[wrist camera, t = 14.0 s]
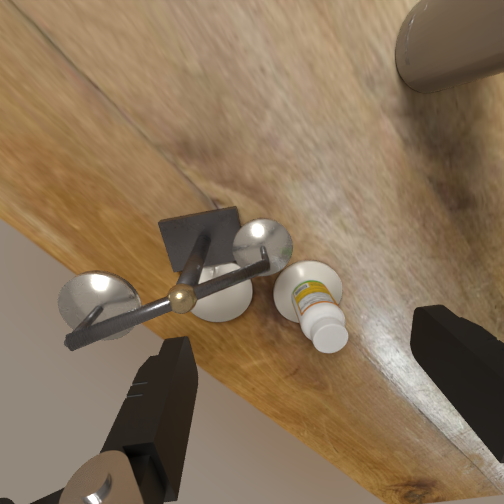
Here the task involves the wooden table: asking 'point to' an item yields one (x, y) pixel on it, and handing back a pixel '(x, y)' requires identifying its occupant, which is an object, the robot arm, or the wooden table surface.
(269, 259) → the balance
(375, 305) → the wooden table surface
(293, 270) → the dish low side
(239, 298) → the dish high side
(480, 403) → the robot arm
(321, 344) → the supplement bottle
